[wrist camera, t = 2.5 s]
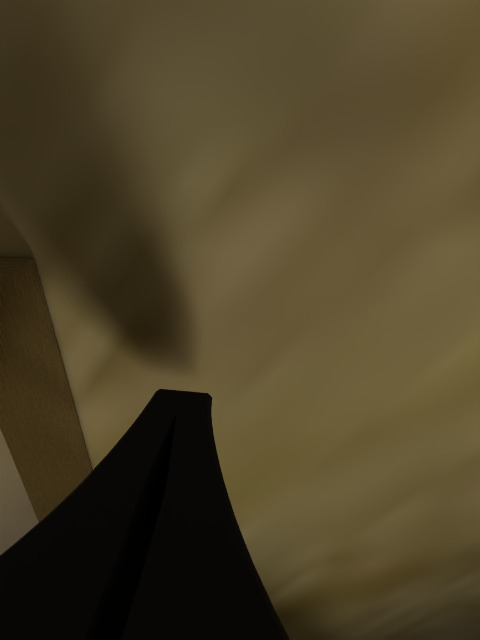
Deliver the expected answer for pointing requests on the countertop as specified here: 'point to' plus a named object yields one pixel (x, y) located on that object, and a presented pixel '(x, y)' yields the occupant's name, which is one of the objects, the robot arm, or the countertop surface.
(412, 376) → the countertop surface
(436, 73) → the countertop surface
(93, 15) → the countertop surface
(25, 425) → the studded beige block
